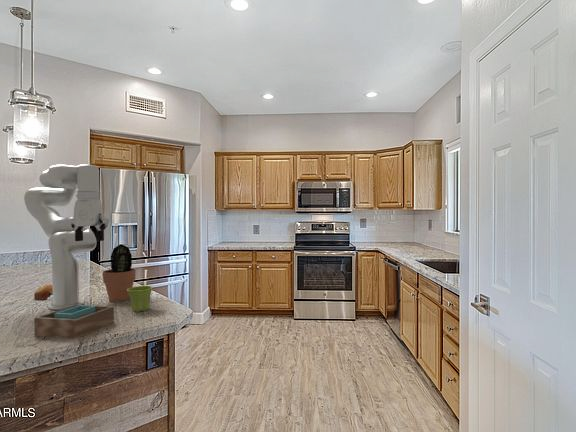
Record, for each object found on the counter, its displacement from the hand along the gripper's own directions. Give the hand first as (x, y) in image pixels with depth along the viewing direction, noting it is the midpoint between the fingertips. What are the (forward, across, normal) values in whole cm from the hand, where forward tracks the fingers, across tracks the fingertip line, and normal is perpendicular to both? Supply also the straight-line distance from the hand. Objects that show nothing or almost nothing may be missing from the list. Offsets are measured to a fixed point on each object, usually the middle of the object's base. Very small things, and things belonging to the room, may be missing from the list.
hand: (89, 240), depth 132 cm
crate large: (+29, +9, -16) cm, 34 cm away
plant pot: (+28, +16, +8) cm, 34 cm away
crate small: (+28, +9, -16) cm, 33 cm away
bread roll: (+29, -43, +20) cm, 55 cm away
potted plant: (+28, -5, +22) cm, 36 cm away
